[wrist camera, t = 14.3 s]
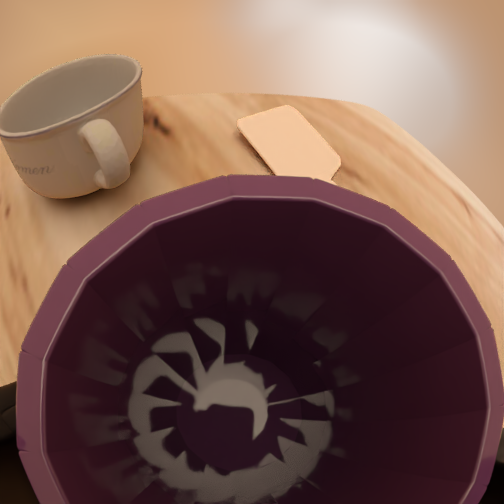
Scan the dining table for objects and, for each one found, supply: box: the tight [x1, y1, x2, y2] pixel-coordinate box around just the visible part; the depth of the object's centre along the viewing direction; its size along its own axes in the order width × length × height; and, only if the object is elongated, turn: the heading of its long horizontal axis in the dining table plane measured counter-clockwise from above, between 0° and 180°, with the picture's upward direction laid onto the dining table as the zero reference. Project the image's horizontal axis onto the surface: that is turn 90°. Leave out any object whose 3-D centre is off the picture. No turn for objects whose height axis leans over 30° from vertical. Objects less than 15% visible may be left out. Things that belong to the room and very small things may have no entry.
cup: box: [16, 175, 504, 504], centre depth 8 cm, size 7×7×12 cm
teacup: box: [0, 54, 144, 198], centre depth 17 cm, size 14×11×8 cm
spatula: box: [237, 105, 341, 185], centre depth 19 cm, size 6×29×2 cm, turn 35°
